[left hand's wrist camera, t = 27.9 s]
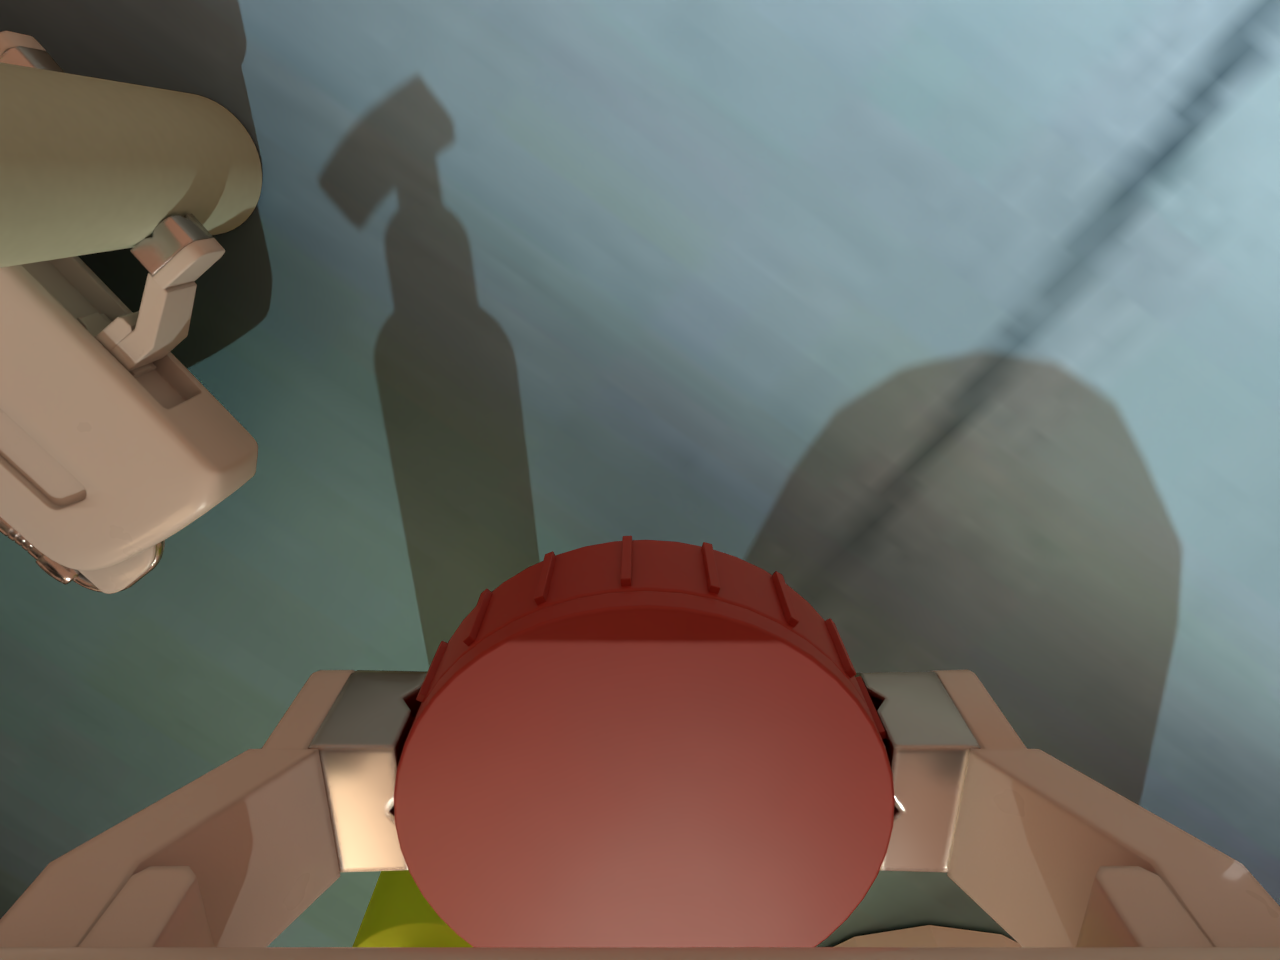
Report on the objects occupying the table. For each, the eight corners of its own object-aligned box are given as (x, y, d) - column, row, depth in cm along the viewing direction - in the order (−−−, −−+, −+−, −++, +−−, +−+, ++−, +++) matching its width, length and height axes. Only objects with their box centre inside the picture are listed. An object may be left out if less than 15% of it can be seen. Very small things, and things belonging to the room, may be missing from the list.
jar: (228, 261, 31) (-298, 377, 14) (108, 181, 30) (-622, 198, 13) (286, 151, 30) (-223, 125, 12) (162, 62, 29) (-583, -100, 11)
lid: (695, 439, 9) (705, 490, 7) (946, 767, 11) (996, 864, 9) (332, 695, 10) (277, 785, 9) (606, 953, 12) (602, 1067, 10)
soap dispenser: (398, 732, 39) (169, 1246, 20) (505, 660, 37) (363, 1146, 19) (477, 807, 41) (333, 1346, 22) (583, 741, 39) (524, 1261, 20)
